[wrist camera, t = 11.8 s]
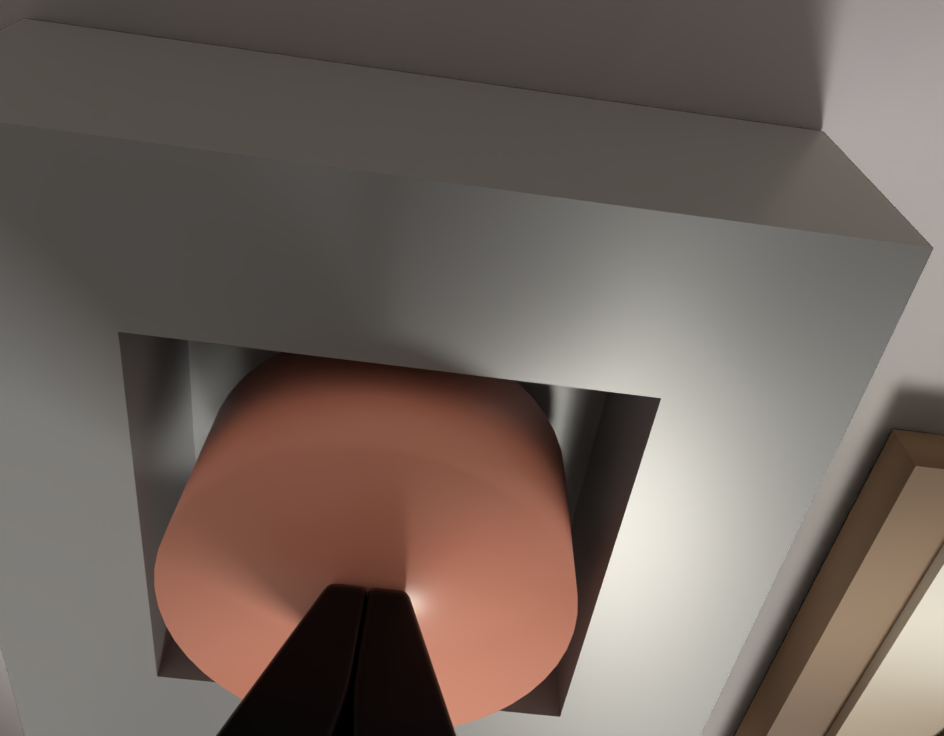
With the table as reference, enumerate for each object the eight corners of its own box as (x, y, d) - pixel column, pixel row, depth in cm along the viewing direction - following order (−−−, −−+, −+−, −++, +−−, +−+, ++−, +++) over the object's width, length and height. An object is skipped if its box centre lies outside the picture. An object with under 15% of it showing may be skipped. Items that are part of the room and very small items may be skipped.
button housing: (637, 637, 15) (665, 808, 12) (108, 581, 14) (28, 747, 12) (823, 131, 10) (933, 247, 7) (24, 18, 9) (-146, 103, 7)
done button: (532, 618, 12) (537, 751, 10) (213, 584, 12) (168, 714, 10) (599, 357, 10) (620, 477, 8) (199, 307, 9) (136, 420, 8)
